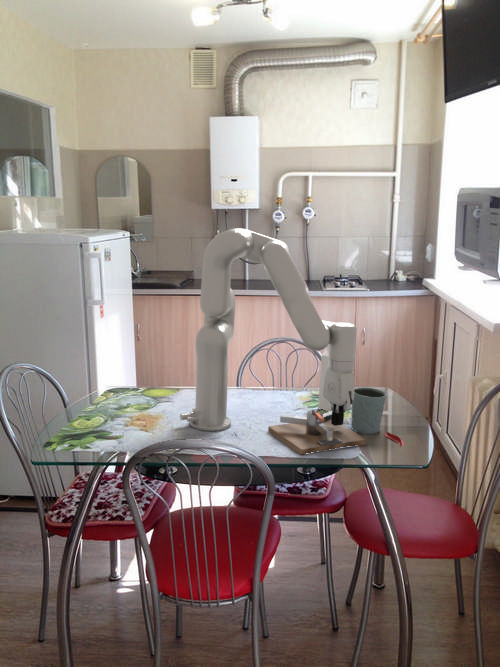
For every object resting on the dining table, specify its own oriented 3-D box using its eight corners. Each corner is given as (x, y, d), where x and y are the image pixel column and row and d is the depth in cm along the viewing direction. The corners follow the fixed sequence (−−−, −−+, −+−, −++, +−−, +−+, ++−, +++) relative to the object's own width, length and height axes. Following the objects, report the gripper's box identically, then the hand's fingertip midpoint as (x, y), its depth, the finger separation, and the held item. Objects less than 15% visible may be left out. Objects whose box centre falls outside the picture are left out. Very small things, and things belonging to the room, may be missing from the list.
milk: (332, 413, 198) (337, 349, 193) (317, 408, 202) (321, 345, 197) (342, 409, 202) (347, 346, 198) (327, 405, 206) (332, 343, 202)
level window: (321, 446, 164) (321, 444, 164) (316, 443, 167) (316, 441, 166) (342, 443, 168) (342, 440, 167) (337, 440, 170) (337, 437, 170)
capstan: (328, 445, 164) (330, 423, 163) (277, 428, 176) (278, 407, 174) (358, 431, 176) (360, 410, 174) (308, 416, 187) (309, 396, 186)
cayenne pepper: (406, 449, 171) (407, 442, 170) (390, 448, 171) (391, 441, 170) (397, 434, 183) (398, 428, 182) (382, 433, 183) (383, 427, 182)
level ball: (329, 442, 166) (329, 437, 166) (326, 440, 167) (326, 435, 167) (333, 441, 167) (333, 437, 166) (330, 439, 168) (330, 435, 168)
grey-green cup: (347, 422, 189) (350, 386, 187) (379, 424, 189) (382, 388, 187) (352, 434, 179) (355, 396, 177) (385, 435, 179) (389, 397, 177)
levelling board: (300, 455, 162) (301, 449, 162) (268, 431, 178) (268, 426, 178) (366, 444, 172) (366, 439, 171) (329, 422, 188) (329, 418, 188)
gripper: (316, 359, 179) (313, 417, 183) (345, 372, 166) (340, 434, 169) (337, 358, 182) (333, 415, 186) (367, 370, 169) (362, 431, 173)
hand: (337, 424), depth 178 cm, fingers closed
